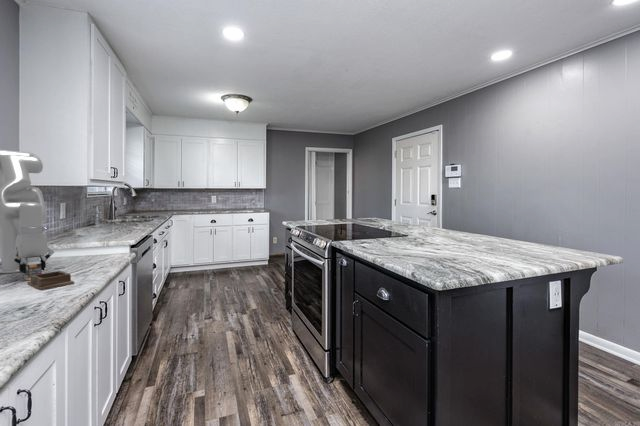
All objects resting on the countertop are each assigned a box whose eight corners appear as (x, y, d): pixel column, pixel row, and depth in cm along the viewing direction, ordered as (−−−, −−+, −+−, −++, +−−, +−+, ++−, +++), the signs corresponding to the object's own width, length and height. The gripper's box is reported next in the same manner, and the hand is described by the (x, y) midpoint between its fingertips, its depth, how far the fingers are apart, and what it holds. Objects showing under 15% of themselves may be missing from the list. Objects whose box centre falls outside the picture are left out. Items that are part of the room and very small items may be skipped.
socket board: (27, 284, 129) (27, 275, 129) (59, 278, 139) (59, 269, 138) (41, 290, 122) (40, 280, 122) (74, 283, 132) (74, 274, 131)
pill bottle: (31, 281, 134) (30, 258, 134) (20, 280, 135) (19, 257, 135) (45, 277, 140) (44, 255, 139) (35, 276, 141) (34, 255, 140)
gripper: (52, 228, 146) (53, 266, 147) (1, 232, 131) (3, 274, 132) (59, 229, 142) (60, 268, 143) (7, 233, 127) (9, 276, 128)
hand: (32, 270), depth 137 cm, fingers closed on pill bottle, 5 cm apart
